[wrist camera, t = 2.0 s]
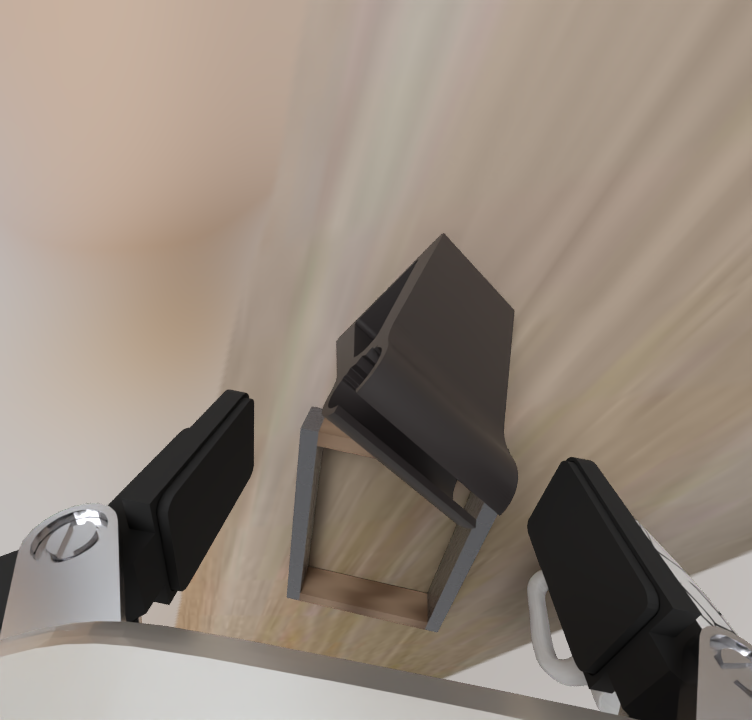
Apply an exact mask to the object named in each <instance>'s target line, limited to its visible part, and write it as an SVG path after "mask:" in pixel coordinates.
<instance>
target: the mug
mask: <svg viewBox="0 0 752 720" xmlns="http://www.w3.org/2000/svg"><path fill="white" fill-rule="evenodd" d="M635 520H636V519H635ZM636 522H637V523H638V524H639V526H640V527H641V529H642V530H643V532H644V533H645V534H646V536H647V537H648V539H649V540H650V541H651V543H652V544H653V546H654V547H655V548H656V550H657V551H658V553H659V554H660V556H661V557H662V558H663V560H664V561H665V563H666V564H667V565H668V567H669V568H670V570H671V571H672V572H673V574H674V575H675V577H676V578H677V579H678V581H679V582H680V584H681V585H682V587H683V588H684V589H685V591H686V592H687V594H688V595H689V596H690V598H691V599H692V601H693V602H694V603H695V605H696V606H697V608H698V609H699V611H700V612H701V613H702V615H700V616H699V617H698V618H697V619H696V621H697V622H698V624H699V625H700V627H701V628H705V627H707V626H716V627H720V628H723V629H725V630H728V631H730V632H732V633H734V634H735V635H737V636H738V634H737V633H736V632H735V631H734V630H733V628H732V627H731V626H730V625H729V623H728V622H727V621H726V619H725V618H724V617H723V616H722V614H721V613H720V612H719V611H718V610H717V608H716V607H715V606H714V605H713V603H712V602H711V601H710V600H709V598H708V597H707V596H706V595H705V594H704V592H703V591H702V590H701V589H700V588H699V586H698V585H697V584H696V583H695V582H694V581H693V579H692V578H691V577H690V576H689V575H688V574H687V573H686V572H685V571H684V569H683V568H682V567H681V566H680V565H679V564H678V563H677V562H676V561H675V560H674V559H673V558H672V557H671V556H670V554H669V553H668V552H667V551H666V550H665V549H664V548H663V547H662V546H661V545H660V544H659V543H658V542H657V541H656V540H655V539H654V537H653V536H652V535H651V534H650V533H649V532H648V531H647V530H646V529H645V528H644V527H643V526H642V525H641V524H640V523H639V522H638V521H637V520H636ZM547 590H549V589H548V587H547V584H546V581H545V578H544V576H543V573H542V570H540V571H538V572H536V573H535V574H534V575H533V576H532V577H531V578H530V580H529V582H528V587H527V595H528V603H529V612H530V627H531V638H532V644H533V648H534V651H535V655H536V658H537V661H538V663H539V665H540V666H541V668H542V669H543V670H544V671H545V672H546V673H547V674H548V675H550V676H551V677H552V678H553V679H554V680H556V681H558V682H560V683H561V684H564V685H568V686H584V685H588V684H587V682H586V679H585V676H584V674H583V672H582V671H580V670H579V669H578V667H577V666H576V664H575V662H574V659H573V656H572V657H570V658H568V659H564V660H562V659H558V658H557V656H556V654H555V651H554V648H553V644H552V639H551V633H550V626H549V620H548V613H547V608H546V602H545V594H546V592H547ZM591 692H592V695H593V698H594V700H595V702H596V705H597V707H598V709H599V710H600V711H601V712H606V713H611V714H616V715H618V713H619V708H620V702H619V700H618V697H617V695H616V692H613V693H612V694H611V693H606V692H601V691H596V690H591Z"/></svg>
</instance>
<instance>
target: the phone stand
mask: <svg viewBox="0 0 752 720" xmlns="http://www.w3.org/2000/svg"><path fill="white" fill-rule="evenodd" d="M513 321H514V309H513V308H512V307H511V306H510V305H509V304H508V303H507V302H506V301H505V300H504V298H503V297H502V296H501V295H500V294H499V293H498V292H497V291H496V290H495V289H494V288H493V286H492V285H491V284H490V283H489V282H488V281H487V280H486V279H485V278H484V277H483V275H482V274H481V273H480V272H479V271H478V270H477V269H476V268H475V267H474V266H473V265H472V263H471V262H470V261H469V260H468V259H467V258H466V257H465V256H464V255H463V254H462V252H461V251H460V250H459V249H458V248H457V247H456V246H455V245H454V244H453V243H452V242H451V240H450V239H449V238H448V237H447V236H446V235H445V234H444V233H443V234H441V235H440V236H439V237H438V238H437V239H436V240H435V241H434V242H433V243H432V244H431V245H430V246H429V247H428V248H427V249H426V250H425V251H424V252H423V253H422V254H421V255H420V256H419V257H418V258H417V259H416V260H415V261H414V262H413V264H412V265H411V266H410V267H409V268H408V269H407V270H406V271H405V272H404V273H403V274H402V275H401V276H400V277H399V278H398V279H397V280H396V281H395V282H394V283H393V284H392V285H391V286H390V287H389V288H388V289H387V290H386V291H385V292H384V293H383V294H382V295H381V296H380V297H379V298H378V299H377V300H376V301H375V302H374V303H373V304H372V305H371V306H370V307H369V308H368V309H367V310H366V311H365V312H364V313H363V314H362V315H361V316H360V317H359V318H358V319H357V320H356V321H355V322H354V323H353V324H352V325H351V326H350V327H349V328H348V329H347V330H346V331H345V332H344V333H343V334H342V335H341V336H340V337H339V339H338V340H337V341H336V349H337V379H336V382H335V384H334V387H333V389H332V391H331V393H330V395H329V396H328V398H327V400H326V402H325V404H324V406H323V409H322V415H323V416H324V417H325V418H326V419H328V420H329V421H330V422H331V423H333V424H334V425H335V426H336V427H338V428H339V429H340V430H341V431H343V432H344V433H345V434H346V435H347V436H349V437H350V438H351V439H352V440H354V441H355V442H356V443H357V444H359V445H360V446H361V447H362V448H364V449H365V450H366V451H367V452H368V453H370V454H371V455H372V456H373V457H375V458H376V459H377V460H378V461H380V462H381V463H382V464H383V465H385V466H386V467H387V468H388V469H390V470H391V471H392V472H393V473H394V474H396V475H397V476H398V477H399V478H401V479H402V480H403V481H404V482H406V483H407V484H408V485H409V486H411V487H412V488H413V489H414V490H415V491H417V492H418V493H419V494H420V495H422V496H423V497H424V498H425V499H427V500H428V501H429V502H430V503H432V504H433V505H434V506H435V507H437V508H438V509H439V510H440V511H441V512H443V513H444V514H445V515H446V516H448V517H449V518H450V519H451V520H453V521H454V522H455V523H456V524H458V525H459V526H461V527H464V528H470V529H473V528H476V519H475V518H474V517H473V516H471V515H470V514H469V513H468V512H467V511H465V510H464V509H463V508H462V507H461V506H459V505H458V504H457V503H456V502H455V501H453V491H454V487H455V484H456V482H457V480H458V481H460V482H461V483H462V484H463V485H464V486H465V487H467V488H468V489H469V490H470V491H471V492H472V493H474V494H475V495H476V496H477V497H478V498H480V499H481V500H482V501H483V502H484V503H485V504H487V505H488V506H489V507H490V508H491V509H492V510H494V511H495V512H496V513H497V514H498V515H499V516H500V515H501V514H502V513H503V512H504V511H505V509H506V508H507V507H508V505H509V504H510V502H511V500H512V498H513V496H514V494H515V491H516V488H517V483H518V470H517V466H516V463H515V461H514V459H513V458H512V456H511V455H510V453H509V451H508V449H507V446H506V443H505V438H504V421H505V410H506V399H507V388H508V376H509V365H510V354H511V343H512V332H513Z"/></svg>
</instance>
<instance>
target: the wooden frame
mask: <svg viewBox="0 0 752 720" xmlns="http://www.w3.org/2000/svg"><path fill="white" fill-rule="evenodd" d="M323 447H325V448H329V449H334V450H338V451H343V452H348V453H352V454H357V455H361V456H366V457H371V458H375V457H373V456H372V455H371V454H370V453H368V452H367V451H366V450H365V449H364V448H362V447H361V446H360V445H359V444H357V443H356V442H355V441H354V440H352V439H351V438H350V437H349V436H347V435H346V434H345V433H344V432H343V431H341V430H340V429H339V428H338V427H336V426H335V425H334V424H333V423H331V422H330V421H329V420H328V419H326V418H325V417H324V416H323V415H322V409H320V408H316V407H311V409H310V411H309V413H308V415H307V417H306V419H305V421H304V423H303V425H302V427H301V432H300V444H299V456H298V468H297V480H296V492H295V504H294V516H293V528H292V540H291V552H290V565H289V577H288V589H287V598H291V599H295V600H300V601H304V602H308V603H313V604H317V605H321V606H326V607H330V608H334V609H339V610H343V611H347V612H352V613H356V614H360V615H365V616H369V617H373V618H378V619H382V620H386V621H390V622H395V623H399V624H403V625H408V626H412V627H416V628H421V629H425V630H429V631H434V632H438V630H439V628H440V626H441V624H442V623H443V621H444V619H445V617H446V615H447V613H448V611H449V609H450V607H451V605H452V603H453V601H454V599H455V597H456V595H457V593H458V591H459V589H460V587H461V585H462V583H463V581H464V579H465V577H466V575H467V573H468V571H469V569H470V567H471V565H472V564H473V562H474V560H475V558H476V556H477V554H478V552H479V550H480V548H481V546H482V544H483V542H484V540H485V538H486V536H487V534H488V532H489V530H490V528H491V526H492V524H493V522H494V520H495V518H496V516H497V513H496V512H495V511H494V510H492V509H491V508H490V507H489V506H488V505H487V504H485V503H484V502H483V501H482V500H481V499H480V498H478V497H477V496H476V495H475V494H474V493H472V492H471V494H470V496H469V498H468V501H467V503H466V505H465V508H464V510H465V511H467V512H468V513H469V514H470V515H471V516H473V517H474V518H475V519H476V528H473V529H470V528H464V527H461V526H459V525H458V524H457V526H456V528H455V531H454V533H453V535H452V538H451V540H450V542H449V545H448V547H447V549H446V551H445V554H444V556H443V558H442V561H441V563H440V565H439V568H438V570H437V572H436V575H435V577H434V579H433V581H432V584H431V586H430V588H429V591H428V593H423V592H419V591H414V590H410V589H406V588H401V587H397V586H392V585H388V584H384V583H379V582H375V581H371V580H366V579H362V578H357V577H353V576H349V575H344V574H340V573H335V572H331V571H327V570H322V569H318V568H314V567H309V566H308V564H309V556H310V548H311V540H312V532H313V524H314V516H315V508H316V500H317V493H318V485H319V477H320V469H321V461H322V453H323ZM508 451H509V449H508ZM509 453H510V452H509ZM375 459H376V458H375Z"/></svg>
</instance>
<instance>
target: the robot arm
mask: <svg viewBox="0 0 752 720" xmlns="http://www.w3.org/2000/svg"><path fill="white" fill-rule="evenodd" d="M253 466H254V400H253V399H249V395H248V394H247V393H244V392H239V391H234V390H226V391H225V392H224V393H223V394H222V395H221V396H220V397H219V398H218V399H217V400H216V401H215V402H214V403H213V404H212V405H211V407H209V409H208V410H207V411H206V412H205V413H204V414H203V415H202V416H201V417H200V418H199V419H198V420H197V421H196V422H195V423H194V424H193V425H192V426H191V427H190V428H186V429H184V430H182V431H181V432H180V433H179V434H178V435H177V436H176V437H175V438H174V439H173V440H172V441H171V442H170V443H169V444H168V445H167V446H166V447H165V448H164V449H163V450H162V451H161V452H160V453H159V454H158V455H157V456H156V457H155V458H154V459H153V460H152V461H151V462H150V463H149V464H148V465H147V466H146V467H145V468H144V469H143V470H142V472H140V473H139V474H138V475H137V477H135V478H134V479H133V480H132V481H131V482H130V483H129V484H128V485H127V487H125V488H124V489H123V490H122V491H121V493H119V495H118V496H116V498H115V499H114V500H113V501H112V502H111V503H110V504H109V505H108V506H107V505H103V504H99V503H96V504H95V503H92V504H91V503H90V504H89V503H87V504H83V505H77V506H73V507H70V508H68V509H65V510H62V511H60V512H58V513H56V514H54V515H52V516H51V517H49V518H47V519H45V520H44V521H43V522H41V523H40V524H39V525H38V526H36V527H35V528H34V529H32V531H31V532H30V533H29V534H28V535H27V537H26V538H25V539H24V540H23V542H22V544H21V546H20V549H19V550H17V551H14V552H11V553H9V554H6V555H3V556H1V557H0V720H752V645H751V644H749V643H748V642H747V641H745V640H744V639H742V638H740V637H739V636H737V635H735V634H734V633H732V632H730V631H728V630H725V629H723V628H720V627H716V626H707V627H705V628H701V627H700V625H699V624H698V622H697V621H696V619H697V618H698V617H699V616H700V615H702V613H701V612H700V611H699V609H698V608H697V606H696V605H695V603H694V602H693V601H692V599H691V598H690V596H689V595H688V594H687V592H686V591H685V589H684V588H683V587H682V585H681V584H680V582H679V581H678V579H677V578H676V577H675V575H674V574H673V572H672V571H671V570H670V568H669V567H668V565H667V564H666V563H665V561H664V560H663V558H662V557H661V556H660V554H659V553H658V551H657V550H656V548H655V547H654V546H653V544H652V543H651V541H650V540H649V539H648V537H647V536H646V534H645V533H644V532H643V530H642V529H641V527H640V526H639V524H638V523H637V522H636V520H635V519H634V517H633V516H632V515H631V513H630V512H629V510H628V509H627V508H626V506H625V505H624V503H623V502H622V500H621V499H620V498H619V496H618V495H617V493H616V492H615V491H614V489H613V488H612V486H611V485H610V484H609V482H608V481H607V479H606V478H605V477H604V475H603V474H602V472H601V471H600V469H599V468H598V467H597V465H596V464H595V463H594V462H592V461H590V460H585V459H580V458H574V457H570V458H568V459H567V460H566V461H562V462H561V463H560V465H559V467H558V469H557V470H556V472H555V474H554V476H553V477H552V479H551V481H550V483H549V484H548V486H547V488H546V490H545V492H544V493H543V495H542V497H541V499H540V500H539V502H538V504H537V506H536V508H535V509H534V511H533V513H532V515H531V516H530V518H529V520H528V525H527V529H528V534H529V536H530V539H531V542H532V545H533V548H534V550H535V553H536V556H537V559H538V562H539V564H540V567H541V570H542V573H543V576H544V578H545V581H546V584H547V587H548V589H549V592H550V595H551V598H552V601H553V603H554V606H555V609H556V612H557V615H558V617H559V620H560V623H561V626H562V628H563V631H564V634H565V637H566V640H567V642H568V645H569V648H570V651H571V654H572V656H573V659H574V662H575V664H576V666H577V667H578V669H579V670H580V671H582V672H583V674H584V676H585V679H586V682H587V684H588V687H589V689H591V690H596V691H601V692H606V693H611V694H612V693H613V692H616V695H617V697H618V700H619V702H620V708H619V713H618V715H616V714H611V713H606V712H601V711H596V710H592V709H587V708H582V707H577V706H572V705H568V704H563V703H557V702H553V701H548V700H543V699H539V698H533V697H529V696H524V695H519V694H514V693H510V692H505V691H500V690H495V689H490V688H485V687H480V686H475V685H470V684H465V683H460V682H455V681H450V680H446V679H441V678H436V677H431V676H426V675H421V674H416V673H411V672H406V671H401V670H396V669H391V668H386V667H381V666H376V665H371V664H366V663H361V662H356V661H351V660H346V659H340V658H335V657H330V656H325V655H320V654H315V653H310V652H305V651H299V650H294V649H289V648H284V647H279V646H274V645H269V644H264V643H259V642H253V641H248V640H243V639H238V638H232V637H226V636H220V635H215V634H209V633H203V632H197V631H192V630H186V629H180V628H174V627H168V626H161V625H151V624H143V623H142V618H141V616H142V615H144V614H146V613H147V611H148V609H149V608H150V606H151V605H152V603H153V602H158V603H163V604H168V605H169V604H170V603H171V601H172V599H173V598H174V596H175V594H176V593H177V591H184V590H185V589H186V587H187V586H188V585H189V583H190V581H191V579H192V578H193V576H194V574H195V573H196V571H197V569H198V567H199V566H200V564H201V562H202V560H203V559H204V557H205V555H206V553H207V552H208V550H209V548H210V546H211V545H212V543H213V541H214V539H215V538H216V536H217V534H218V533H219V531H220V529H221V527H222V526H223V524H224V522H225V520H226V519H227V517H228V515H229V513H230V512H231V510H232V508H233V506H234V505H235V503H236V501H237V499H238V498H239V496H240V494H241V492H242V491H243V489H244V487H245V486H246V484H247V482H248V480H249V479H250V477H251V474H252V471H253Z"/></svg>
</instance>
